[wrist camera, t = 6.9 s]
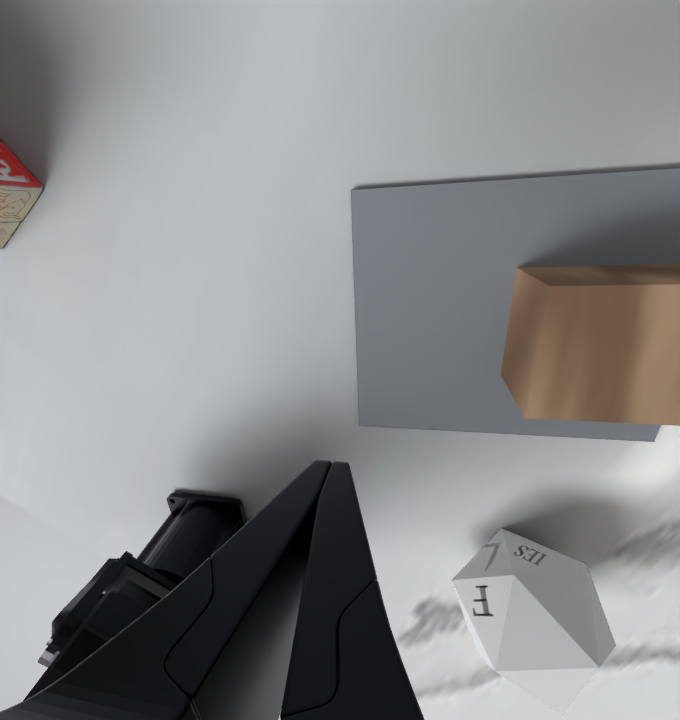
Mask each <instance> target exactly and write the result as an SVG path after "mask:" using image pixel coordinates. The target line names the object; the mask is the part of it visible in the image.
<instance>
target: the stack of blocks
mask: <svg viewBox="0 0 680 720" xmlns="http://www.w3.org/2000/svg"><path fill="white" fill-rule="evenodd" d="M0 140H1V139H0ZM42 189H43V187H42V186H41V184H40V183H39V182H38V181H37V180H36V179H35V178H34V177H33V176H32V174H31V173H30V172H29V171H28V170H27V169H26V168H25V167H24V166H23V165H22V163H21V162H20V161H19V160H18V159H17V158H16V157H15V156H14V154H13V153H12V152H11V151H10V150H9V149H8V148H7V147H6V145H5V144H3V143H2V142H1V141H0V250H1V249H2V248H3V246H4V245H5V244H6V242H7V241H8V239H9V238H10V237H11V235H12V234H13V232H14V231H15V229H16V228H17V226H18V225H19V223H20V221H21V220H23V219H24V217H25V216H26V215H27V213H28V212H29V210H30V209H31V207H32V205H33V204H34V203H35V201H36V200H37V198H38V197H39V195H40V193H41V191H42Z"/></svg>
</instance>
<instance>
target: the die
mask: <svg viewBox="0 0 680 720" xmlns="http://www.w3.org/2000/svg"><path fill="white" fill-rule="evenodd" d="M452 583H453V585H454V588H455V591H456V594H457V597H458V600H459V603H460V606H461V609H462V612H463V615H464V618H465V620H466V623H467V626H468V629H469V632H470V635H471V638H472V641H473V644H474V647H475V650H476V653H477V654H478V655H479V656H480V657H481V658H482V659H483V660H484V661H485V662H486V663H487V664H488V665H489V666H490V667H491V668H492V669H493V670H494V671H496V672H497V673H499V674H500V675H502V676H503V677H505V678H506V679H508V680H509V681H511V682H512V683H514V684H516V685H517V686H519V687H520V688H522V689H523V690H525V691H526V692H528V693H529V694H531V695H533V696H534V697H536V698H537V699H539V700H540V701H542V702H543V703H545V704H546V705H548V706H550V707H551V708H553V709H554V710H556V711H557V712H559V713H560V714H562V715H563V714H564V713H565V712H566V710H567V709H568V708H569V706H570V705H571V704H572V703H573V701H574V700H575V699H576V697H577V696H578V695H579V694H580V692H581V691H582V690H583V688H584V687H585V686H586V685H587V683H588V682H589V681H590V679H591V678H592V677H593V675H594V674H595V673H596V672H597V670H598V669H599V668H600V666H601V665H602V664H603V662H604V661H605V660H606V658H607V657H608V656H609V654H610V653H611V651H612V650H613V649H614V647H615V646H616V645H615V642H614V639H613V637H612V634H611V631H610V628H609V625H608V623H607V620H606V617H605V614H604V611H603V609H602V606H601V603H600V600H599V597H598V595H597V592H596V589H595V586H594V583H593V581H592V578H591V575H590V572H589V569H588V567H587V564H585V563H583V562H580V561H578V560H576V559H573V558H571V557H569V556H566V555H564V554H562V553H559V552H557V551H554V550H552V549H550V548H547V547H545V546H543V545H540V544H538V543H535V542H533V541H531V540H528V539H526V538H524V537H521V536H519V535H517V534H514V533H512V532H509V531H507V530H505V529H502V528H501V529H500V530H499V531H498V532H497V533H496V535H495V536H494V537H493V538H492V539H491V540H490V541H489V542H488V543H487V544H486V546H485V547H484V548H482V549H481V550H480V551H479V552H478V553H477V554H476V555H475V556H474V557H473V558H472V559H471V561H470V562H469V563H468V564H467V565H466V566H465V567H464V568H463V569H462V570H461V571H460V572H459V573H458V574H457V575H456V576H455V577H454V578H453V579H452Z"/></svg>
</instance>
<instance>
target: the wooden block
mask: <svg viewBox="0 0 680 720" xmlns="http://www.w3.org/2000/svg"><path fill="white" fill-rule="evenodd" d="M501 377H502V378H503V380H504V382H505V384H506V386H507V387H508V389H509V391H510V393H511V394H512V396H513V398H514V400H515V402H516V403H517V405H518V407H519V409H520V410H521V412H522V414H523V416H524V418H529V419H550V420H572V421H593V422H614V423H636V424H657V425H678V426H680V264H641V265H600V266H559V267H518V268H516V273H515V280H514V286H513V293H512V300H511V307H510V314H509V320H508V327H507V334H506V341H505V348H504V354H503V361H502V368H501Z"/></svg>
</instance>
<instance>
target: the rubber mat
mask: <svg viewBox="0 0 680 720" xmlns="http://www.w3.org/2000/svg"><path fill="white" fill-rule="evenodd" d="M351 211H352V239H353V267H354V295H355V323H356V351H357V379H358V407H359V426H373V427H391V428H410V429H428V430H446V431H464V432H483V433H501V434H519V435H537V436H556V437H574V438H592V439H610V440H629V441H647V442H654V441H655V438H656V435H657V433H658V430H659V427H660V425H657V424H636V423H614V422H593V421H572V420H550V419H529V418H524V416H523V414H522V412H521V410H520V409H519V407H518V405H517V403H516V402H515V400H514V398H513V396H512V394H511V393H510V391H509V389H508V387H507V386H506V384H505V382H504V380H503V378H502V377H501V368H502V361H503V354H504V348H505V341H506V334H507V327H508V320H509V314H510V307H511V300H512V293H513V286H514V280H515V273H516V268H518V267H559V266H600V265H641V264H680V168H673V169H658V170H643V171H628V172H613V173H598V174H583V175H568V176H553V177H538V178H523V179H508V180H493V181H478V182H463V183H448V184H433V185H418V186H402V187H387V188H372V189H357V190H351Z"/></svg>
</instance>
